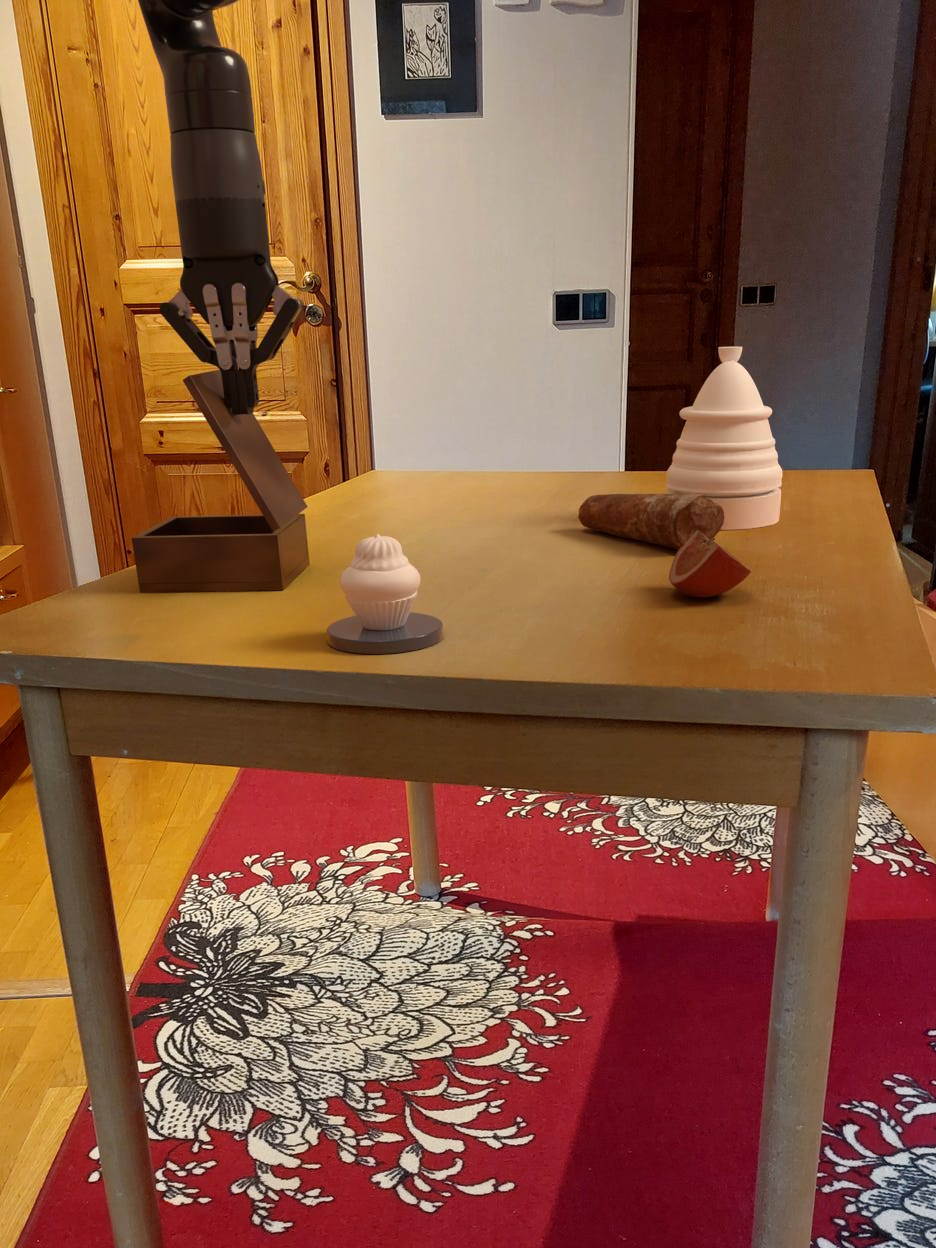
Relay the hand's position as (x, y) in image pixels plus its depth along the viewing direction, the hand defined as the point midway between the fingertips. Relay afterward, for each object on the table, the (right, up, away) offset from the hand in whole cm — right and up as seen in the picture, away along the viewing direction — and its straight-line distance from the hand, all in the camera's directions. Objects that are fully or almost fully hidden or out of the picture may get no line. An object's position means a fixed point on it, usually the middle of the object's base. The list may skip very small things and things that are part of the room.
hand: (243, 413), depth 107 cm
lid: (0, -3, +2) cm, 3 cm away
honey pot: (+49, -2, +27) cm, 56 cm away
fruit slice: (+41, -18, -6) cm, 45 cm away
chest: (-3, -13, +7) cm, 15 cm away
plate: (+14, -23, -15) cm, 31 cm away
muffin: (+14, -23, -16) cm, 31 cm away
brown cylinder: (+38, -7, +17) cm, 43 cm away
